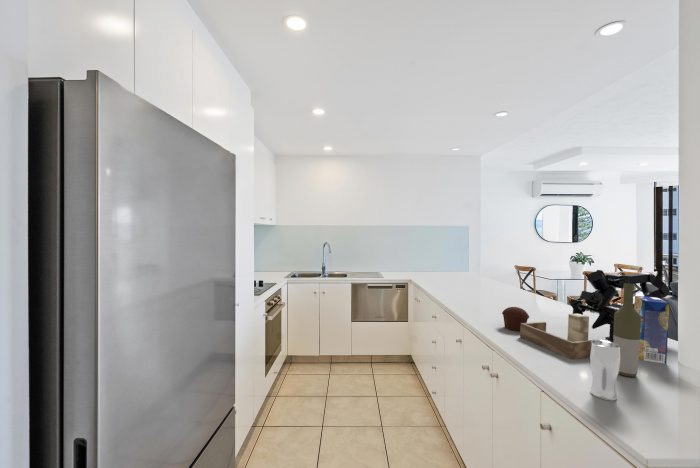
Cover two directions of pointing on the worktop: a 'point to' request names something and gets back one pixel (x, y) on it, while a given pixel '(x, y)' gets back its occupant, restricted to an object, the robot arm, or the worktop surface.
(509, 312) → the muffin
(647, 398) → the worktop surface
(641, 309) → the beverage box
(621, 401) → the worktop surface
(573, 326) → the ash block
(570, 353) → the u-shaped wooden wall
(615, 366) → the beer glass
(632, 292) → the bottle
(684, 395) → the worktop surface
